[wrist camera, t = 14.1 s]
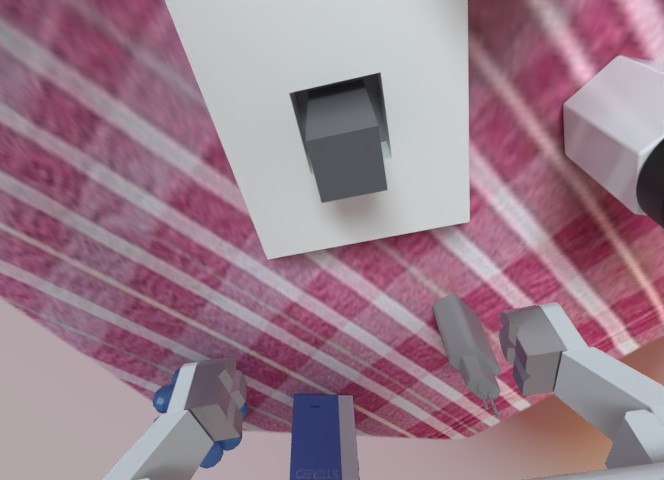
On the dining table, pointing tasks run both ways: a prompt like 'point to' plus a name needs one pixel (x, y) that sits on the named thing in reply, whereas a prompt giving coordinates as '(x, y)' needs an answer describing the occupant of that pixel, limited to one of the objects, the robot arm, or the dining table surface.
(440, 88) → the outlet block
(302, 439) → the walkman
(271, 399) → the dining table surface
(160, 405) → the grapes
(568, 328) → the robot arm
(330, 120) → the gray rectangular block
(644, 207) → the jar
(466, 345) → the power adapter
